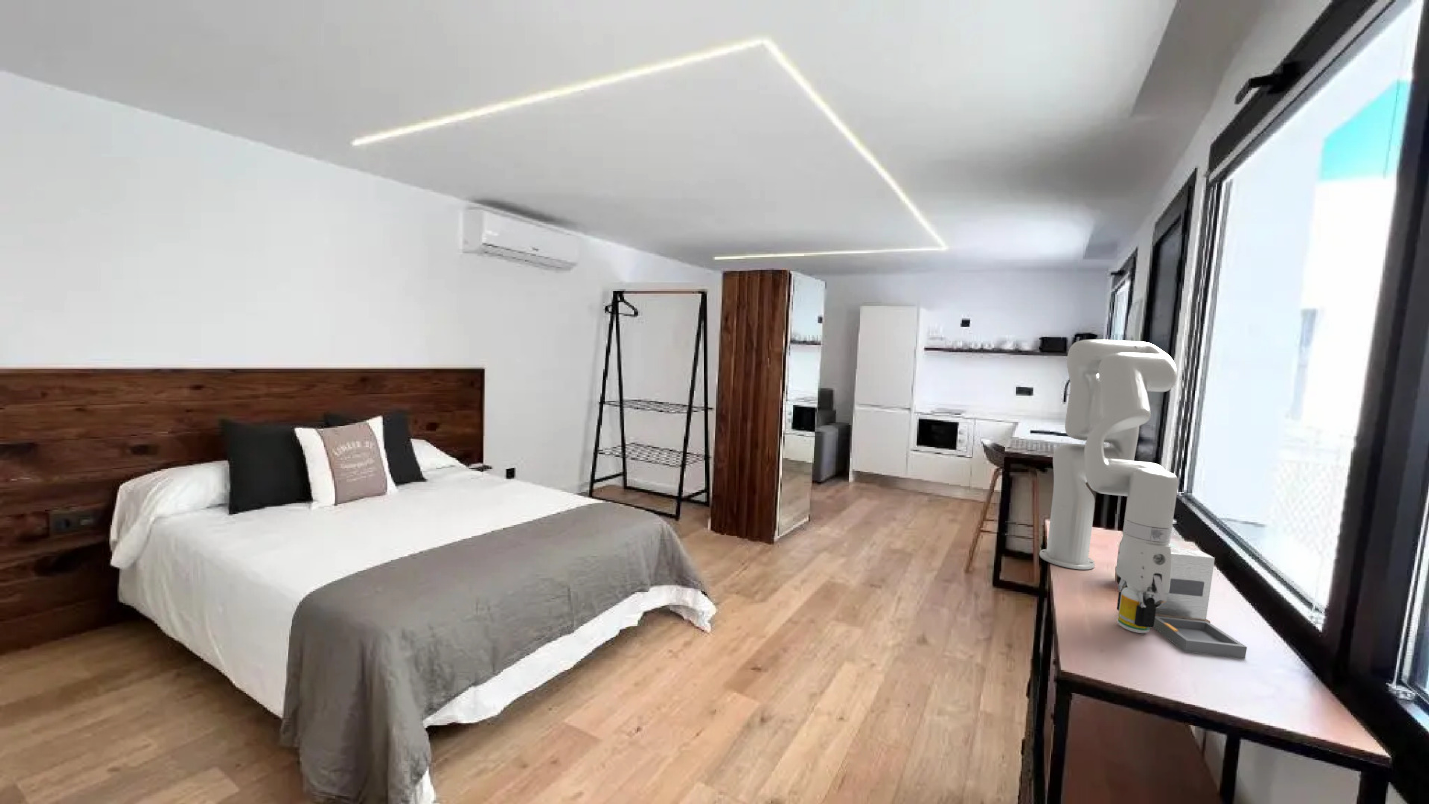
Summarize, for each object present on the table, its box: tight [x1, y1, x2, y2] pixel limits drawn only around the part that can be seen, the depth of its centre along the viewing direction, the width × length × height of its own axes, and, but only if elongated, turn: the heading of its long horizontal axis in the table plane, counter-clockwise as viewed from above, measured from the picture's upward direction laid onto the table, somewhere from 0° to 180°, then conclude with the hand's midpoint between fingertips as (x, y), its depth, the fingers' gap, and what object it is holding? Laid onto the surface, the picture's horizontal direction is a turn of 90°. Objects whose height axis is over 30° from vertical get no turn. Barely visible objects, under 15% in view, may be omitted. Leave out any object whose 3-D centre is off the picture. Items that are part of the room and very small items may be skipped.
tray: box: [1152, 616, 1248, 659], centre depth 112 cm, size 10×10×2 cm
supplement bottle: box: [1117, 582, 1152, 634], centre depth 115 cm, size 5×5×10 cm
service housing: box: [1155, 546, 1216, 624], centre depth 121 cm, size 6×11×15 cm, turn 82°
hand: (1134, 617), depth 115 cm, fingers closed on supplement bottle, 5 cm apart
